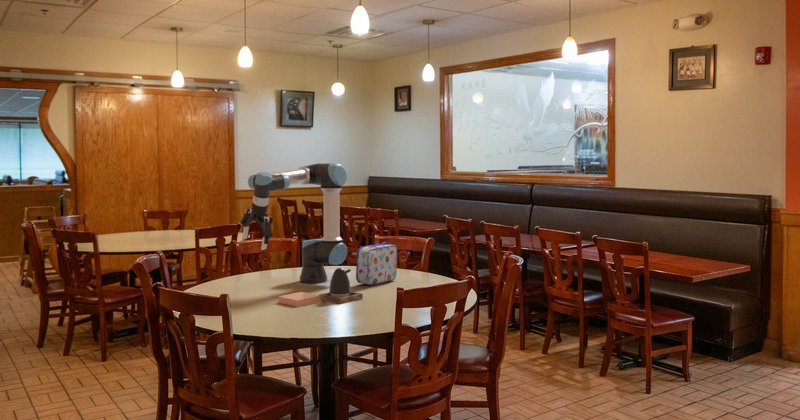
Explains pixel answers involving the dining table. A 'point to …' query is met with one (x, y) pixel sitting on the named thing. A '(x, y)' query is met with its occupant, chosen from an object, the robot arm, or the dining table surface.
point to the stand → (299, 299)
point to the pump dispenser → (340, 283)
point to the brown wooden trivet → (351, 297)
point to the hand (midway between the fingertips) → (254, 243)
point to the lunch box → (376, 264)
